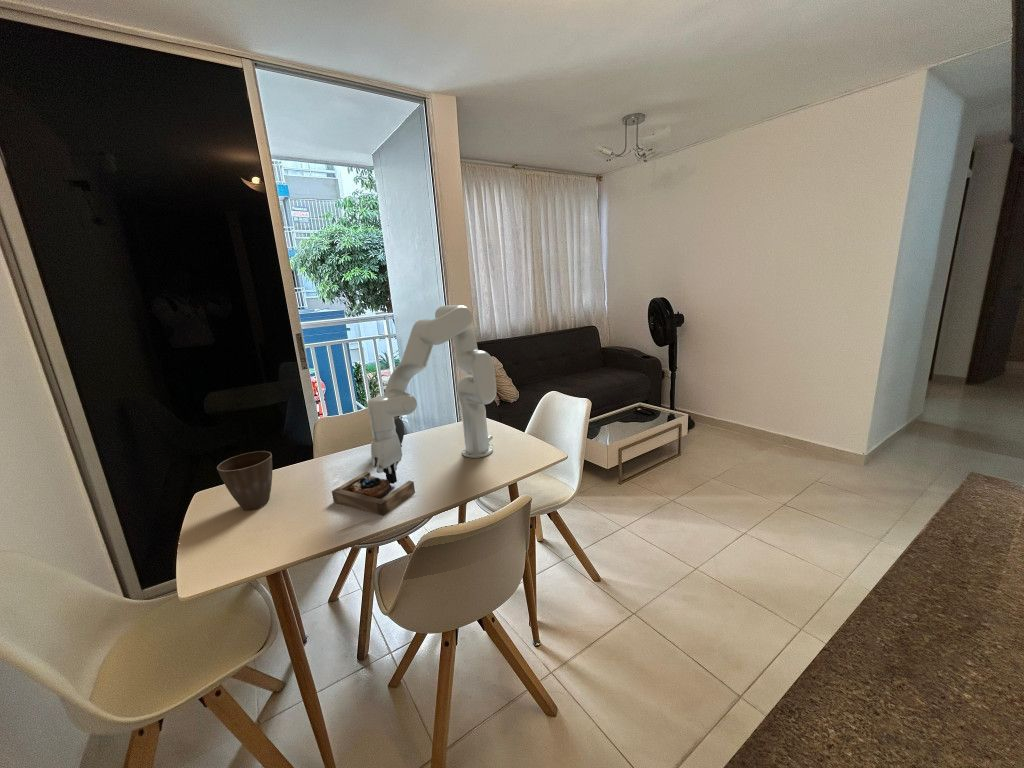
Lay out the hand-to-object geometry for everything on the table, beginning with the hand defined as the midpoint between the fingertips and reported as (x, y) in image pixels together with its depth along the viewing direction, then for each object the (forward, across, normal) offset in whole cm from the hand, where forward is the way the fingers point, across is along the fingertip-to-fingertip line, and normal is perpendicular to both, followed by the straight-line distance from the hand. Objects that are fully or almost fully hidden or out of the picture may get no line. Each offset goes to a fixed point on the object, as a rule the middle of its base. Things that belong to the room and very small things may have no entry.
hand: (392, 482), depth 135 cm
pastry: (+2, +7, -3) cm, 8 cm away
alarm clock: (+2, -24, -22) cm, 33 cm away
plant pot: (+2, +26, -36) cm, 44 cm away
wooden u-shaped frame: (+1, +8, 0) cm, 8 cm away
